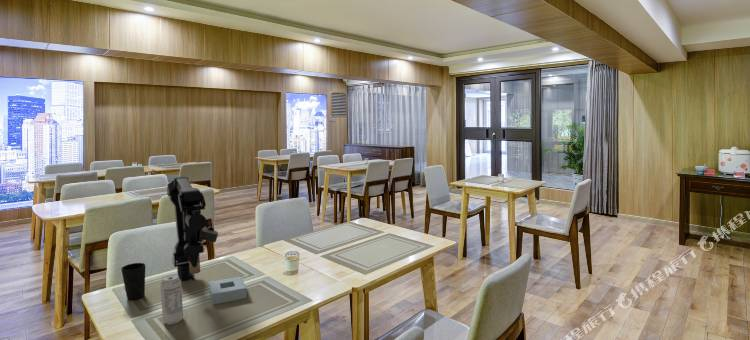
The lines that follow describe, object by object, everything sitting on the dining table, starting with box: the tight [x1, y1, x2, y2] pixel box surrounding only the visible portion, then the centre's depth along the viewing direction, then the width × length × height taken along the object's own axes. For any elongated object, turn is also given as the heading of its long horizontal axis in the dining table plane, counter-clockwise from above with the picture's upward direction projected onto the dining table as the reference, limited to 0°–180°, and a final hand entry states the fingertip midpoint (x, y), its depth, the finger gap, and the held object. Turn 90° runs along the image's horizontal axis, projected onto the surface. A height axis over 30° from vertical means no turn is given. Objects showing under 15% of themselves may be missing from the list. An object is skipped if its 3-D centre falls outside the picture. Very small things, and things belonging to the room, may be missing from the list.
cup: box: [120, 262, 146, 302], centre depth 149 cm, size 8×8×12 cm
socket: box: [208, 276, 248, 306], centre depth 152 cm, size 12×12×4 cm
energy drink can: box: [159, 274, 184, 326], centre depth 132 cm, size 6×6×15 cm
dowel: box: [189, 254, 201, 275], centre depth 148 cm, size 4×4×8 cm
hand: (194, 265), depth 148 cm, fingers closed on dowel, 4 cm apart
